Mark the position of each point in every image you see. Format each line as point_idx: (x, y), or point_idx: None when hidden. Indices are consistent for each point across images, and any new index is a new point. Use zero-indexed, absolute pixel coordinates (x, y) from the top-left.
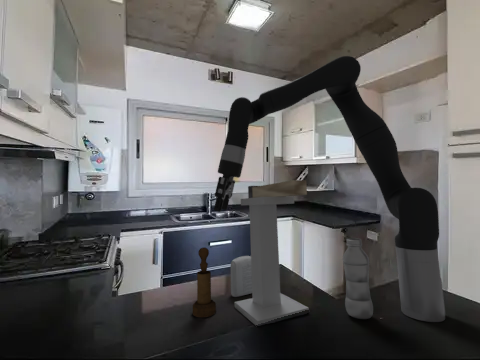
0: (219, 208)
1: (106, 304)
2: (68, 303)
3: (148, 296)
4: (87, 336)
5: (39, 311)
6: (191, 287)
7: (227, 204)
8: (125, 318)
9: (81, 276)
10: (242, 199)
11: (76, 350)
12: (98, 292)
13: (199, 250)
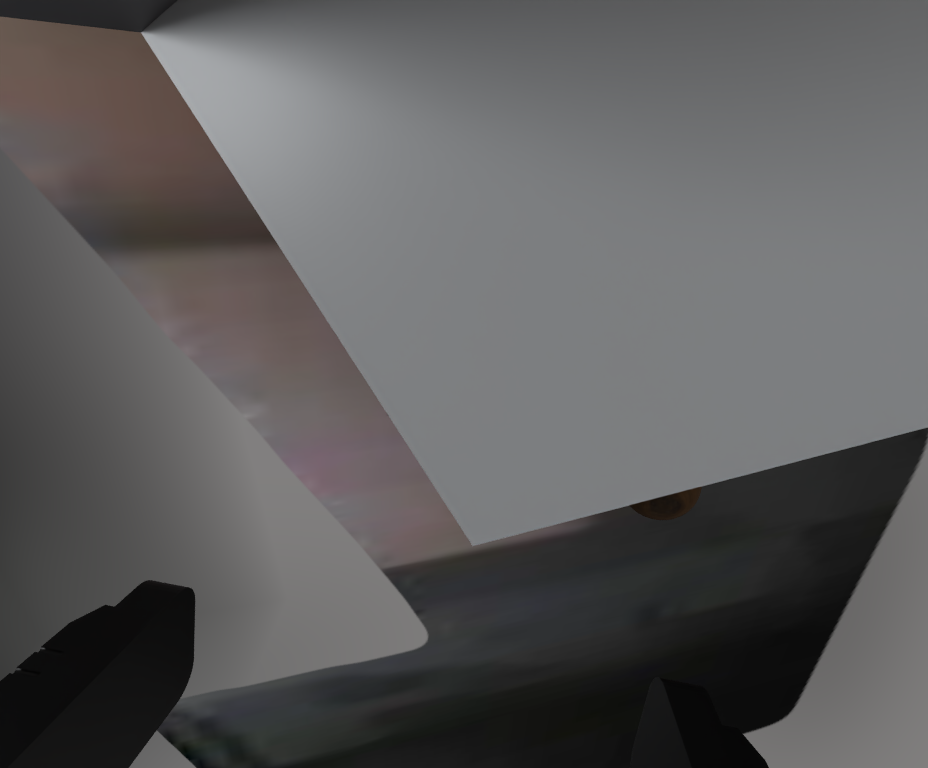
0: (758, 757)
1: (502, 633)
2: (486, 713)
3: (431, 540)
4: (737, 614)
5: (540, 746)
6: (318, 407)
7: (114, 663)
8: (629, 561)
9: (243, 750)
10: (702, 453)
11: (817, 613)
12: (393, 676)
13: (679, 516)
